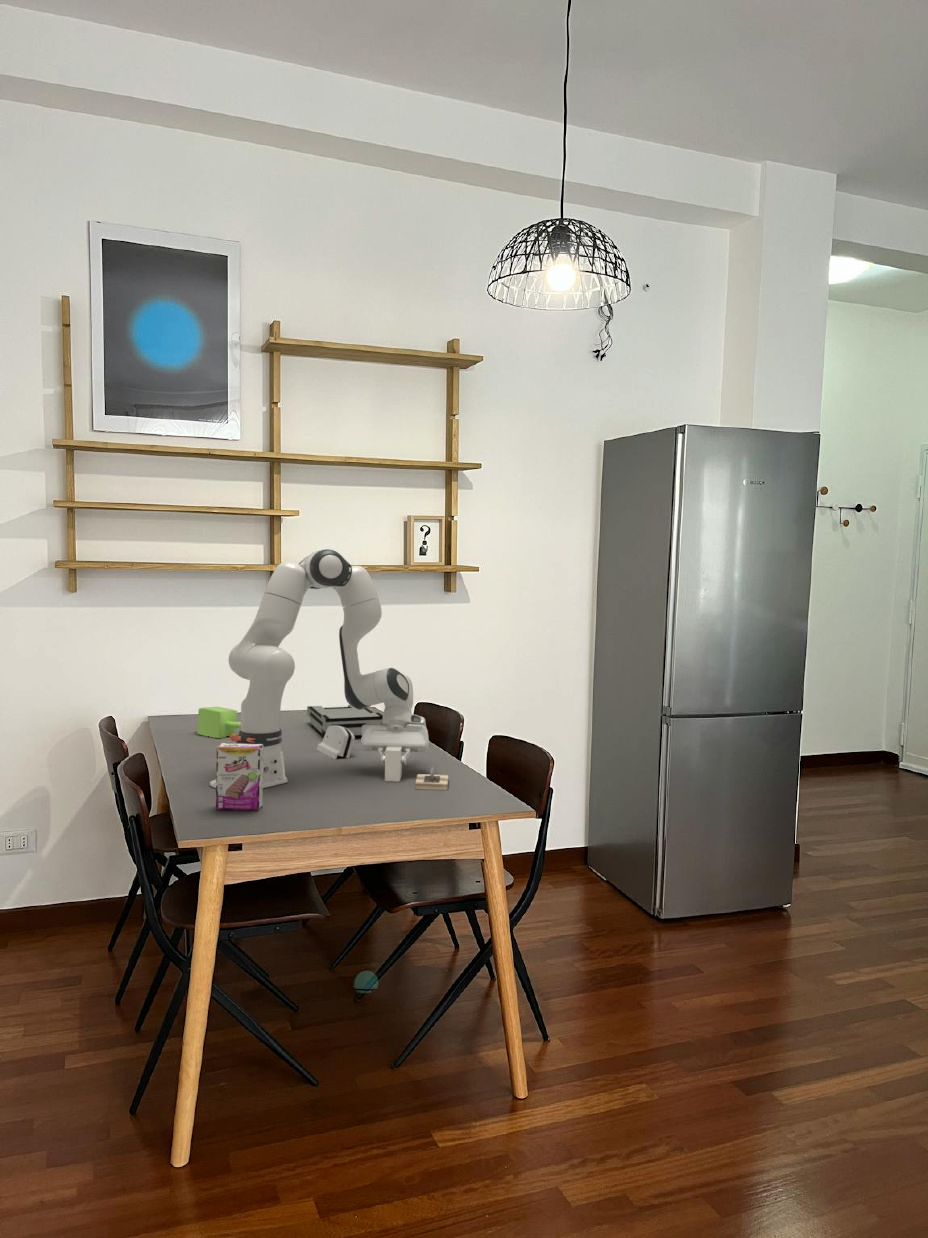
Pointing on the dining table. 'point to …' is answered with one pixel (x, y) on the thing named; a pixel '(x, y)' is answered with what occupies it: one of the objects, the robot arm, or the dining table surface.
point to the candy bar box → (239, 776)
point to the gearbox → (217, 722)
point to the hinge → (337, 742)
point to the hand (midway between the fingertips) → (393, 762)
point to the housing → (393, 763)
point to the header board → (431, 781)
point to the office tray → (341, 718)
